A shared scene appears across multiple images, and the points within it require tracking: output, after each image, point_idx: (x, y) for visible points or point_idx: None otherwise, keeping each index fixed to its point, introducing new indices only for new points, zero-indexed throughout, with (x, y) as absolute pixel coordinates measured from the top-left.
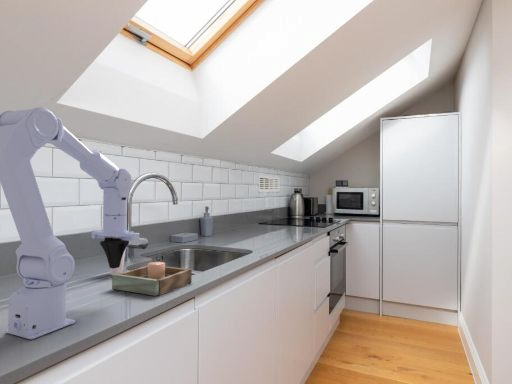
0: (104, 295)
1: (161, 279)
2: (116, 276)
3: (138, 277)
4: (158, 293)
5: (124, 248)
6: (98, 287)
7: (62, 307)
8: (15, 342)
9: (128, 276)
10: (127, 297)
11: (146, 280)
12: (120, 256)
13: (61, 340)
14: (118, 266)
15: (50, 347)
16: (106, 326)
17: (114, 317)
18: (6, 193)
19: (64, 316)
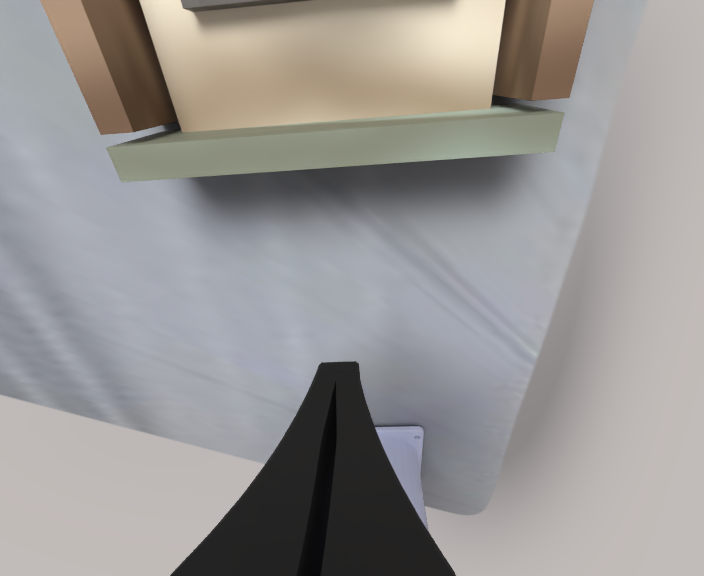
0: (248, 244)
1: (565, 60)
2: (170, 177)
3: (363, 144)
4: (517, 104)
5: (408, 511)
6: (68, 162)
7: (421, 493)
8: None
9: (272, 161)
10: (370, 214)
11: (460, 156)
12: (364, 432)
13: (471, 467)
14: (359, 374)
15: (477, 482)
16: (514, 409)
17: (491, 370)
18: None
19: (413, 460)
